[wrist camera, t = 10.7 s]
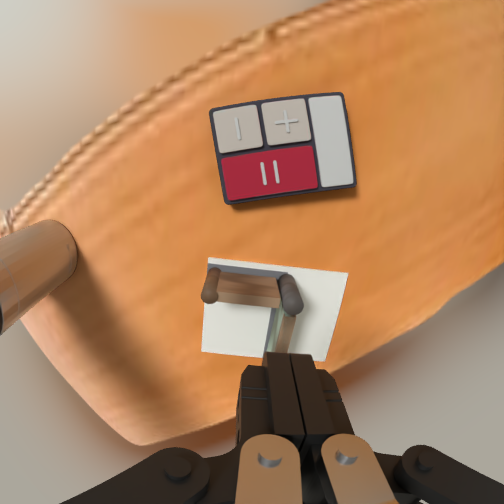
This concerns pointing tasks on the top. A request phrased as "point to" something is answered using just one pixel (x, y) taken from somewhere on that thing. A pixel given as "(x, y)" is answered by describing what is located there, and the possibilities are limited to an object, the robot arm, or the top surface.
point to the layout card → (261, 318)
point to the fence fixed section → (252, 290)
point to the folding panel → (281, 330)
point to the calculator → (283, 147)
